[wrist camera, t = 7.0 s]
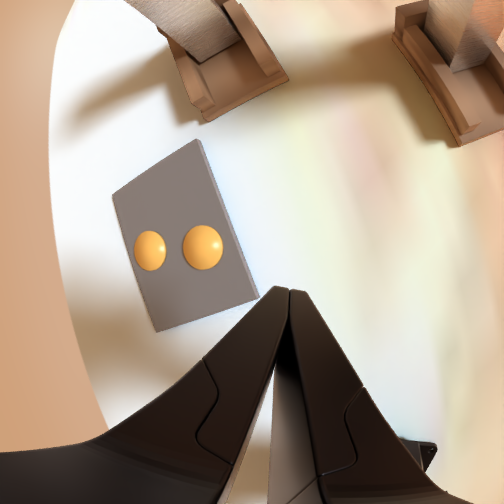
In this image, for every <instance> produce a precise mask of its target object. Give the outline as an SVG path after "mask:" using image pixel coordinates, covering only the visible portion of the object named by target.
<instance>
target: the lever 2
mask: <svg viewBox="0 0 504 504" xmlns="http://www.w3.org/2000/svg"><path fill="white" fill-rule="evenodd" d="M503 28H504V0H429V4H428V10H427V16H426V21H425V27H424V32H423V34H424V35H425V36H426V37H427V39H428V40H429V41H430V42H431V44H432V45H433V46H434V48H435V49H436V50H437V52H438V53H439V54H440V56H441V57H442V59H443V60H444V61H445V63H446V64H447V66H448V67H449V69H450V70H451V71H452V73H454V72H457V71H461V70H464V69H467V68H471V67H474V66H478V65H481V64H484V62H485V61H486V59H487V57H488V55H489V54H490V52H491V50H492V48H493V47H494V45H495V43H496V41H497V39H498V38H499V36H500V34H501V32H502V30H503Z"/></svg>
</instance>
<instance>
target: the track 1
mask: <svg viewBox="0 0 504 504" xmlns="http://www.w3.org/2000/svg"><path fill="white" fill-rule="evenodd" d="M215 2H216V3H217V4H218V5H219V7H220V8H221V9H222V10H223V12H224V13H225V14H226V15H227V17H228V18H229V20H230V21H231V23H232V25H233V26H234V28H235V30H236V31H237V33H238V35H239V36H240V38H241V40H239V41H238V42H236V43H234V44H232V45H230V46H228V47H227V48H225V49H223V50H221V51H219V52H218V53H216V54H214V55H213V56H211V57H209V58H207V59H206V60H204V61H202V62H201V63H200V62H199V61H198V60H197V59H196V58H195V57H194V56H192V55H191V54H190V53H189V52H188V51H187V50H186V49H184V48H183V47H182V46H181V45H180V44H179V43H177V42H176V41H175V40H174V39H173V38H171V37H170V36H169V35H168V34H167V33H165V32H164V31H163V30H162V29H160V28H159V27H158V26H157V25H156V26H157V29H158V32H160V33H161V34H162V35H163V36H165V37H166V38H167V40H168V43H169V46H170V48H171V51H172V54H173V56H174V59H175V61H176V64H177V67H178V69H179V72H180V75H181V77H182V80H183V83H184V85H185V88H186V90H187V93H188V96H189V98H190V101H191V104H193V105H194V106H196V107H197V108H199V109H200V110H201V113H202V115H203V118H204V119H205V120H207V121H208V122H210V121H212V120H214V119H215V118H217V117H219V116H221V115H222V114H224V113H226V112H228V111H230V110H231V109H233V108H235V107H237V106H239V105H241V104H242V103H244V102H246V101H248V100H250V99H252V98H254V97H256V96H258V95H260V94H262V93H264V92H266V91H268V90H270V89H272V88H274V87H276V86H278V85H280V84H282V83H284V82H286V81H288V80H289V79H288V77H287V75H286V73H285V72H284V70H283V68H282V67H281V65H280V63H279V62H278V60H277V58H276V57H275V55H274V53H273V52H272V50H271V48H270V47H269V45H268V44H267V42H266V40H265V39H264V37H263V36H262V34H261V33H260V31H259V30H258V28H257V27H256V25H255V24H254V22H253V21H252V19H251V18H250V16H249V15H248V13H247V12H246V10H245V9H244V7H243V6H242V4H241V3H240V4H238V3H237V1H236V0H215Z"/></svg>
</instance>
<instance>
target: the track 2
mask: <svg viewBox="0 0 504 504" xmlns="http://www.w3.org/2000/svg"><path fill="white" fill-rule="evenodd" d="M428 4H429V0H422V1H418V2H414V3H409V4H405V5H401V6H398V7H396V15H395V33H392V40H393V41H394V43H395V44H396V45H397V47H398V48H399V49H400V51H401V52H402V53H403V55H404V56H405V57H406V59H407V60H408V62H409V63H410V64H411V66H412V67H413V69H414V70H415V72H416V73H417V75H418V76H419V78H420V79H421V81H422V82H423V84H424V85H425V87H426V88H427V90H428V92H429V93H430V95H431V97H432V98H433V100H434V101H435V103H436V105H437V107H438V108H439V110H440V112H441V114H442V115H443V117H444V119H445V121H446V123H447V124H448V126H449V128H450V130H451V132H452V134H453V136H454V138H455V140H456V142H457V144H458V146H459V147H461V146H463V145H466V144H468V143H471V142H473V141H476V140H478V139H481V138H483V137H486V136H488V135H491V134H493V133H496V132H498V131H501V130H503V129H504V53H503V52H502V50H501V49H500V47H499V46H498V45H497V43H495V45H494V47H493V48H492V50H491V52H490V54H489V55H488V57H487V59H486V61H485V62H484V64H481V65H478V66H474V67H471V68H467V69H464V70H461V71H457V72H454V73H452V71H451V70H450V69H449V67H448V66H447V64H446V63H445V61H444V60H443V59H442V57H441V56H440V54H439V53H438V52H437V50H436V49H435V48H434V46H433V45H432V44H431V42H430V41H429V40H428V39H427V37H426V36H425V35H424V34H423V32H424V27H425V21H426V16H427V10H428Z"/></svg>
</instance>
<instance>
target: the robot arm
mask: <svg viewBox="0 0 504 504" xmlns="http://www.w3.org/2000/svg"><path fill="white" fill-rule="evenodd" d="M274 367H275V369H274ZM273 370H274V384H273V408H272V430H271V449H270V467H269V484H268V499H267V504H473V503H470V502H468V501H465V500H463V499H460V498H458V497H455V496H453V495H451V494H448V492H447V491H444V490H442V489H441V488H439V487H438V486H437V485H436V484H435V483H434V482H433V481H432V480H431V479H430V478H429V477H428V476H427V475H426V473H425V472H426V470H427V468H428V467H429V465H430V463H431V461H432V460H433V458H434V456H435V454H436V452H437V450H438V449H437V445H436V444H435V443H425V442H417V441H407V440H400V439H399V438H398V436H397V435H396V434H395V432H394V431H393V429H392V428H391V427H390V425H389V424H388V422H387V421H386V420H385V418H384V417H383V415H382V414H381V412H380V411H379V409H378V407H377V406H376V404H375V403H374V401H373V400H372V398H371V396H370V395H369V393H368V391H367V390H366V388H365V387H363V383H362V381H361V380H360V378H359V376H358V375H357V373H356V371H355V370H354V368H353V366H352V365H351V363H350V362H349V360H348V358H347V357H346V355H345V353H344V352H343V350H342V348H341V347H340V345H339V343H338V342H337V340H336V339H335V337H334V335H333V334H332V332H331V330H330V329H329V327H328V326H327V324H326V322H325V321H324V319H323V318H322V316H321V314H320V313H319V311H318V310H317V308H316V306H315V305H314V303H313V302H312V300H311V298H310V297H309V295H308V294H307V292H305V291H302V290H296V289H291V290H290V291H289V289H288V288H285V287H280V286H273V287H272V288H271V289H270V290H269V291H268V292H267V293H266V294H265V295H264V296H263V297H262V298H261V299H260V300H259V301H258V302H257V303H256V304H255V305H254V307H253V308H252V309H251V310H250V311H249V312H248V313H247V314H246V315H245V316H244V317H243V318H242V319H241V320H240V321H239V322H238V323H237V324H236V325H235V326H234V327H233V328H232V329H231V330H230V331H229V332H228V333H227V334H226V335H225V336H224V337H223V338H222V339H221V340H220V341H219V342H218V343H217V344H216V345H215V346H214V347H213V348H212V349H211V350H210V351H209V352H208V353H207V354H206V355H205V356H204V357H203V358H202V360H200V361H199V362H198V363H197V364H196V365H195V366H194V367H193V368H192V369H191V370H189V371H188V372H187V373H186V374H185V375H184V376H183V377H182V378H181V379H179V380H178V381H177V382H176V383H175V384H174V385H173V386H171V387H170V388H169V389H167V390H166V391H165V392H163V393H162V394H161V395H159V396H158V397H157V398H155V399H154V400H153V401H151V402H150V403H148V404H147V405H146V406H144V407H143V408H141V409H140V410H138V411H137V412H135V413H134V414H132V415H131V416H130V417H128V418H127V419H125V420H124V421H122V422H121V423H119V424H118V425H116V426H115V427H113V428H112V429H110V430H109V431H107V432H105V433H104V434H102V435H100V436H98V437H96V438H93V439H91V440H89V441H85V442H82V443H78V444H73V445H67V446H60V447H53V448H46V449H37V450H27V451H17V452H1V453H0V504H225V503H226V501H227V498H228V496H229V493H230V491H231V488H232V486H233V483H234V481H235V478H236V475H237V473H238V470H239V468H240V465H241V462H242V460H243V457H244V454H245V452H246V449H247V446H248V444H249V441H250V438H251V435H252V432H253V430H254V427H255V424H256V421H257V418H258V416H259V413H260V410H261V407H262V404H263V401H264V398H265V395H266V392H267V389H268V386H269V383H270V380H271V377H272V374H273ZM432 448H433V449H432ZM429 449H432V450H429Z"/></svg>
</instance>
